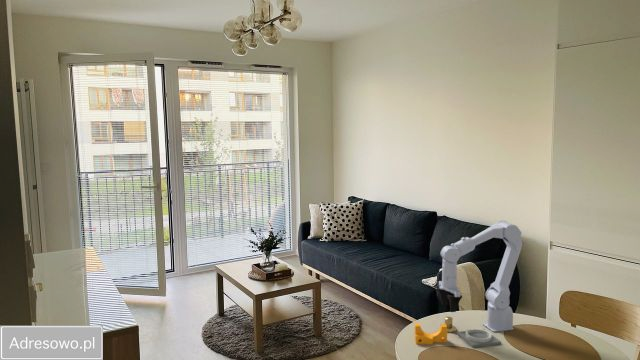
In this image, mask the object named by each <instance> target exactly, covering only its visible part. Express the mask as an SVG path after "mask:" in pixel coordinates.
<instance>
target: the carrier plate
mask: <svg viewBox="0 0 640 360" xmlns="http://www.w3.org/2000/svg"><path fill="white" fill-rule="evenodd" d="M456 335H457V336H458V337H459V338H460V339H462V340H463V341H464V342H465V343H466V344H467V345H468V346H470V347H471V348H480V347H488V346H489V347H491V346H497V345H502V341H501V340H500V339H499V338H497V337H496V336H494V335H493V334H492V333H491V332H490V331H488V330H486V329H485V328H468V329H467V330H462V331H456Z"/></svg>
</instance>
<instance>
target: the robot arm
mask: <svg viewBox="0 0 640 360" xmlns="http://www.w3.org/2000/svg"><path fill="white" fill-rule="evenodd" d="M492 238H493V239H494V238H495V239H502V240H503V242H504V243H505V245H506V248H505V251H504V254H503V257H502V259H501V263H500V266H499V269H498V271H497V275H496V277H495V281H493V282H492V283H490V286H489V287H488V288H487V290H486V291H485V299H486V300H487V317H486V318H487V321H486V322H483V323H482V325H483V326H484V327H486V328H487V329H489V330H490V331H491V332H494V333H496V332H505V331H513V330H515V329H514V327H513V326H514V325H513V324H514V312H513V309H512V307H511V306H510V301H511V300H510V295H511V291H510V288H509V286H510V284H511V281H512V277H513V274H514V271H515V268H516V265H517V262H518V260H519V256H520V253H521V252H522V247H523V243H522V231H521V230H520V228H519V227H518V226H517V225H516V224H512V223H509V222H507V221H506V220H499V221H497V222H495V223H492V224H491V225H490V226H489V227H487V228H486V229H485V230H482V231H481V232H479V233H477V234H476V235H474V236H472V237H468V236H466V237H464V236H463V237H461V238H460V240H458V241H456V242H454V243H451V244H450V245H445V246H443V247H442V248H441V251H440V253H439V254H440V256H441V259H442V265H441V267H442V269H441V271H442V272H441V280H439V281H438V287H437V288H436V291H437V293H438V295H439V298H440V302H441V306H447V305H448V303H449V310H450V312H451V313H457V311H458V306H459V303H460V301H461V300H462V299H463V296H462V295H461V292H460V291H459V288H458V286H457V282H458V281H457V277H458V275H457V274H458V273H457V271H458V268H457V267H458V261H459V259H460V258H461V257H462V256H465V255H466V254H468V253H470V252H472V251H474V250H475V249H476V248H475V247H476V246H478V245H480V244H481V243H485V242H486V241H489V240H491V239H492ZM450 293H451V294H450Z"/></svg>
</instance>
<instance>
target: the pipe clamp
mask: <svg viewBox="0 0 640 360" xmlns="http://www.w3.org/2000/svg"><path fill="white" fill-rule="evenodd" d="M414 341H415V345H434V343H446V344H447V343H448V332H447V325H446V324H445V323H441V324H440V327H439V328H438V330H437V331H436V332H434V333H427V332H425V331H424V330H423V329H422V327H421V323H414Z"/></svg>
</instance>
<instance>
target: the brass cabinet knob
mask: <svg viewBox="0 0 640 360" xmlns="http://www.w3.org/2000/svg"><path fill="white" fill-rule="evenodd" d="M444 324H446V325H447V334H450V333H455V332H457V327H456V326H455V325H453V317H452V316H445V317H444Z"/></svg>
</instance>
